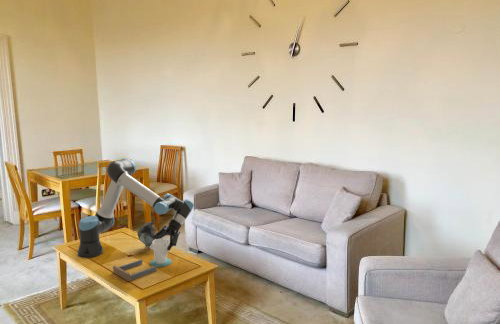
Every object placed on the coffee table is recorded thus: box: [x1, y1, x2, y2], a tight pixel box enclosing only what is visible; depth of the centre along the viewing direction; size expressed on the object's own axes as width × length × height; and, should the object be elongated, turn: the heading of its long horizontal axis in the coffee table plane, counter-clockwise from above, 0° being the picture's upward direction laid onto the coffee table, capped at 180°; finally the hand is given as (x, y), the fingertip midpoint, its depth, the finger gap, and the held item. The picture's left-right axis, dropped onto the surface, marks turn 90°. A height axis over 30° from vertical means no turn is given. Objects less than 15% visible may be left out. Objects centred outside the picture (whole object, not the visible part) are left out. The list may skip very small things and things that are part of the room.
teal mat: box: [149, 257, 173, 268], centre depth 230 cm, size 13×13×1 cm
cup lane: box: [112, 259, 158, 282], centre depth 217 cm, size 16×18×4 cm
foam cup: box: [152, 238, 169, 264], centre depth 229 cm, size 10×9×13 cm
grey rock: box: [137, 219, 159, 251], centre depth 254 cm, size 14×15×18 cm
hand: (157, 251), depth 227 cm, fingers open, 13 cm apart
